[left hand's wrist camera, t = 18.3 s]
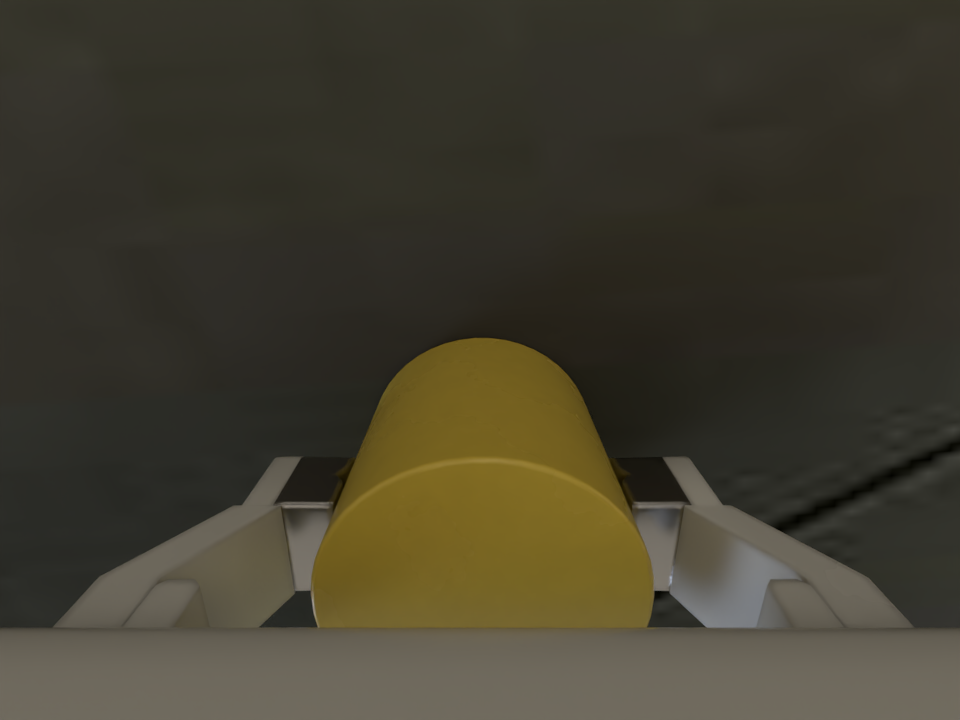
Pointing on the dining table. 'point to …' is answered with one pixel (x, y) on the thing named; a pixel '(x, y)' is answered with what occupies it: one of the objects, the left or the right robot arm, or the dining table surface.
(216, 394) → the dining table surface
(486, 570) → the yellow cylinder
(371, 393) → the dining table surface
